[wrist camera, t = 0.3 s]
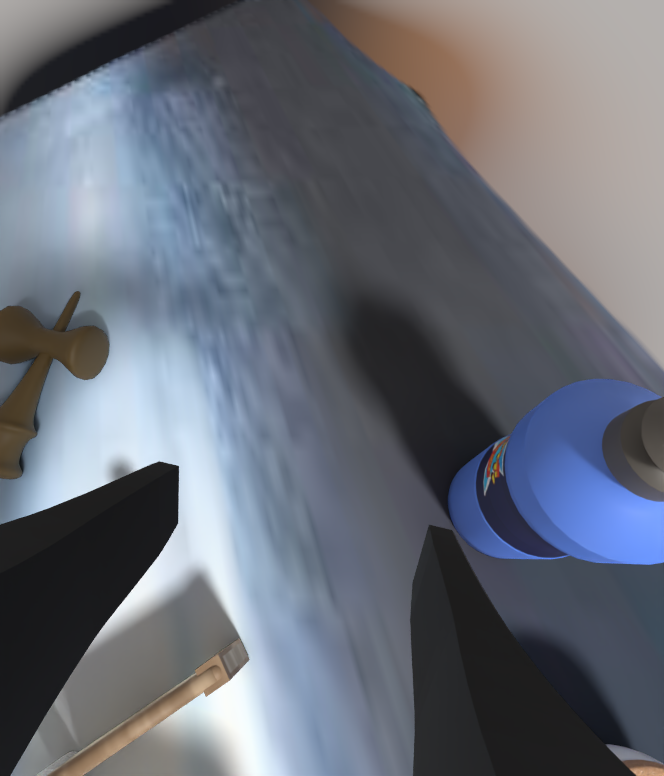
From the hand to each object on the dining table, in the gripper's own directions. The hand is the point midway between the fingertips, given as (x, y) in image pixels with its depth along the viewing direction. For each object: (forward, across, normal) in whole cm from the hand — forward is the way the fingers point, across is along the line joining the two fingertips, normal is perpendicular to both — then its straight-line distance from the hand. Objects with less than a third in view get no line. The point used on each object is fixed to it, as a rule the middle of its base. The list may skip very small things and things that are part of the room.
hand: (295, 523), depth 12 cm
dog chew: (+27, +32, +13) cm, 44 cm away
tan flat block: (+11, +10, +30) cm, 33 cm away
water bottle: (+26, -14, +14) cm, 33 cm away
